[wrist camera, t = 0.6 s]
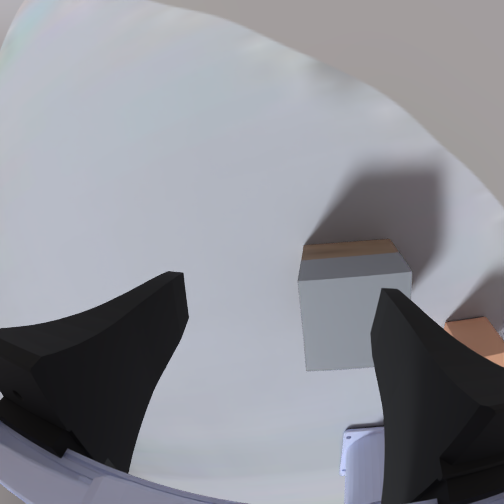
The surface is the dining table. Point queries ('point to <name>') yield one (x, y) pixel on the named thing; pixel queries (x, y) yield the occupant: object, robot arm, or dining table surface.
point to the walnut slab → (348, 249)
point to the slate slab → (345, 306)
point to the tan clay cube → (478, 337)
